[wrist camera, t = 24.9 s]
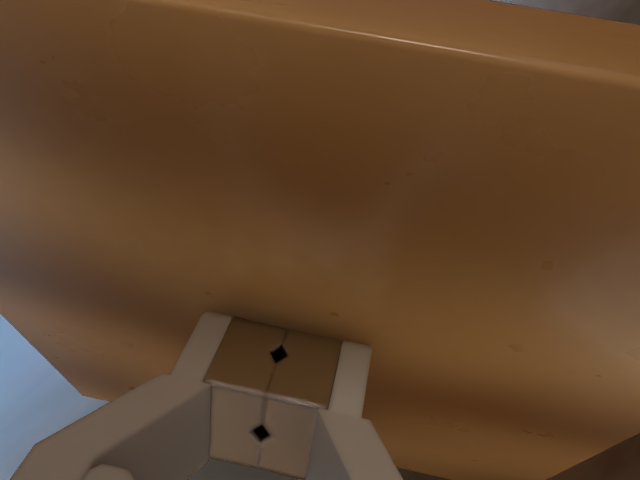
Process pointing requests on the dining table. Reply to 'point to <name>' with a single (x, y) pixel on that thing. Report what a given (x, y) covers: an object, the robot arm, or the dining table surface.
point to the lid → (338, 206)
